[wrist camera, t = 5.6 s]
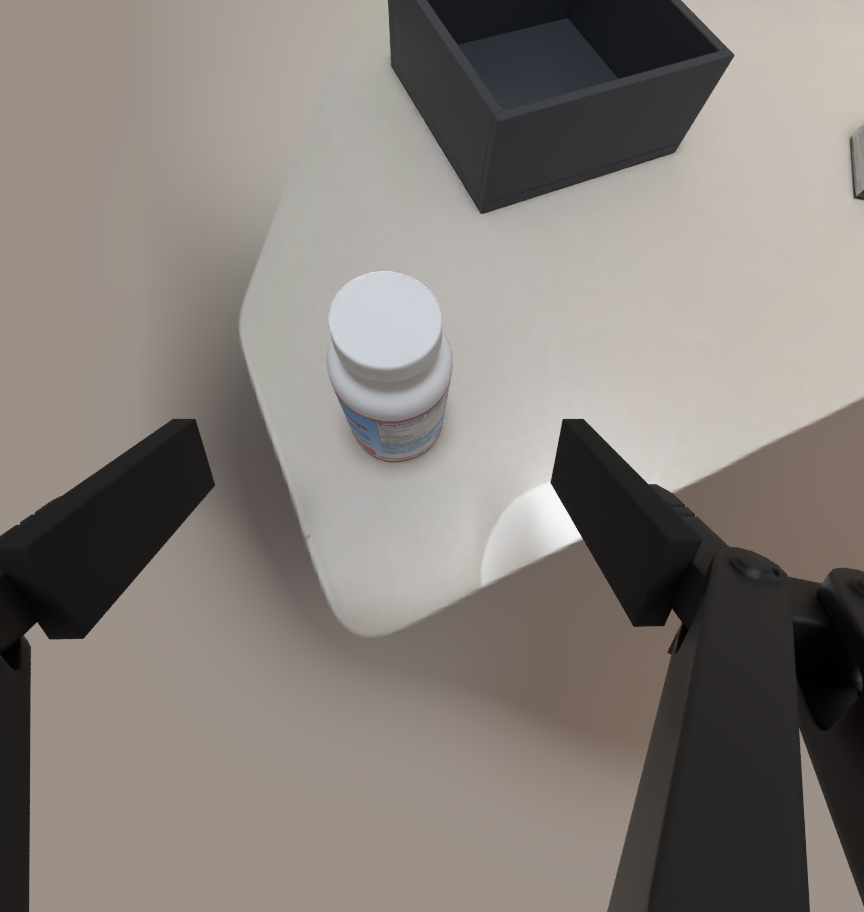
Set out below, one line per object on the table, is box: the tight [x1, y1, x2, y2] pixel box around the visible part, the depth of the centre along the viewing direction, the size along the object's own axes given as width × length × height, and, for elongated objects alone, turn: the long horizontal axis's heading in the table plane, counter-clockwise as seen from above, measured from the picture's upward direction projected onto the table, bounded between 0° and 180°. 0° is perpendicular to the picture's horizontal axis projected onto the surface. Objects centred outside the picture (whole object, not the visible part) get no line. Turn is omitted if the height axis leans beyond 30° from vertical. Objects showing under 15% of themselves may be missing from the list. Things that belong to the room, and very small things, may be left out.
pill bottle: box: [327, 271, 453, 461], centre depth 21 cm, size 6×6×11 cm
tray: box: [388, 0, 734, 213], centre depth 32 cm, size 20×20×7 cm
